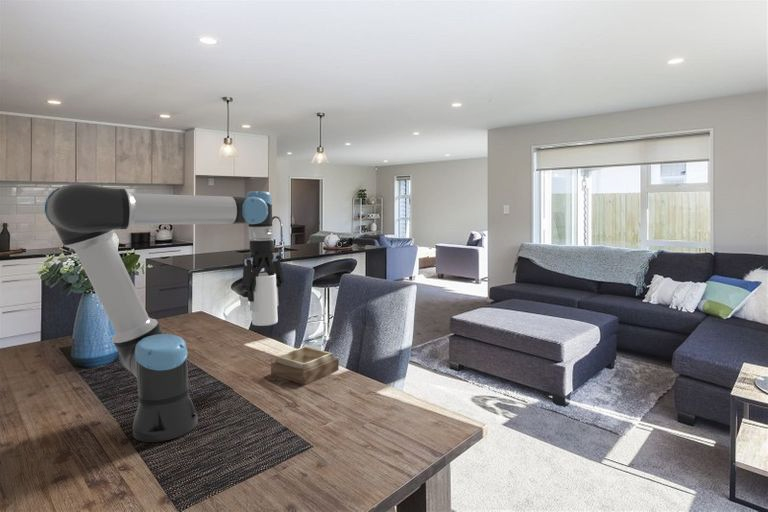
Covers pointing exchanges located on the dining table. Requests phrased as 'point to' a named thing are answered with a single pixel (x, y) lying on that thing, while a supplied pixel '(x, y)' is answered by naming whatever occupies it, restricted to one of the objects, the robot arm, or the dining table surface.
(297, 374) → the box
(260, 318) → the cup
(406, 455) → the dining table surface
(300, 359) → the birch crate
